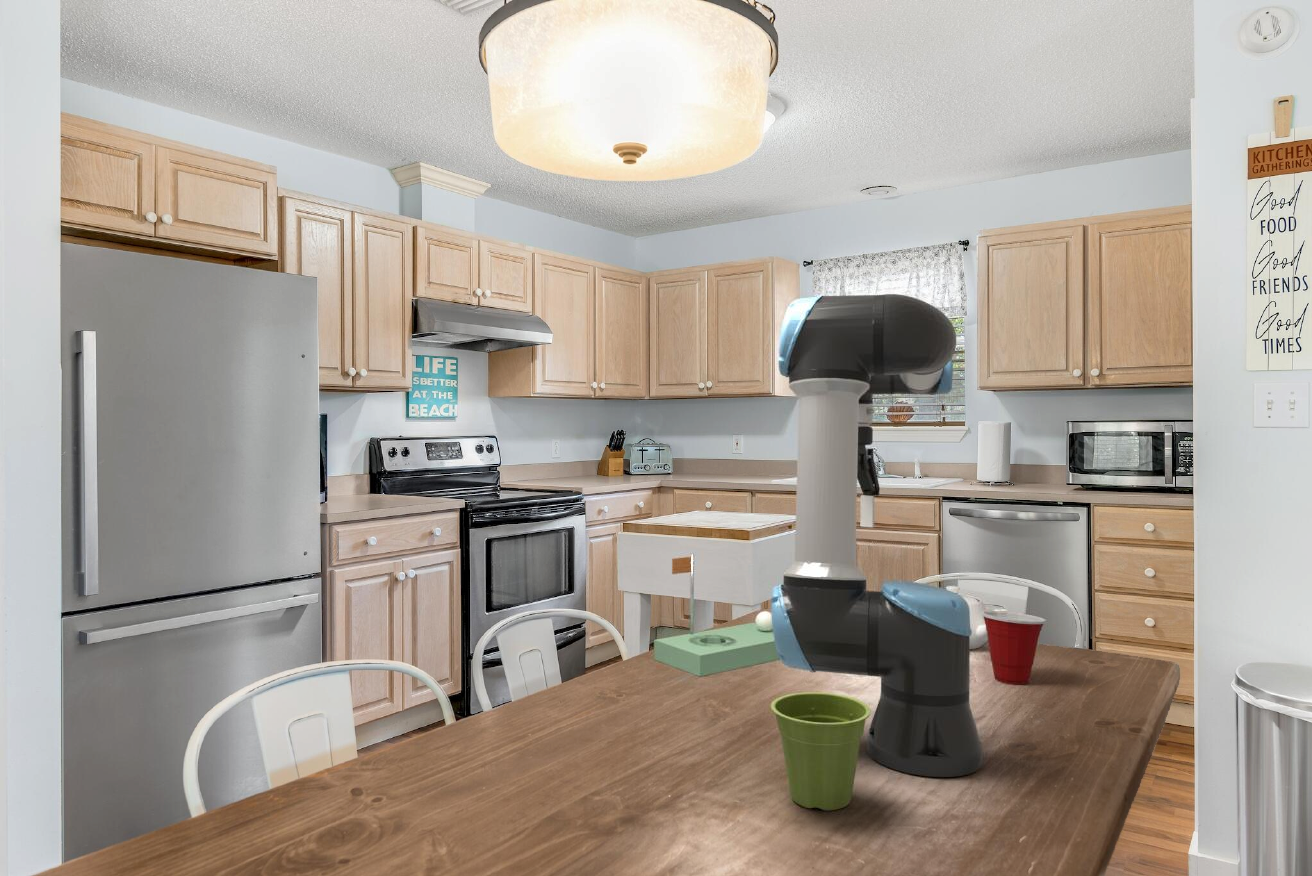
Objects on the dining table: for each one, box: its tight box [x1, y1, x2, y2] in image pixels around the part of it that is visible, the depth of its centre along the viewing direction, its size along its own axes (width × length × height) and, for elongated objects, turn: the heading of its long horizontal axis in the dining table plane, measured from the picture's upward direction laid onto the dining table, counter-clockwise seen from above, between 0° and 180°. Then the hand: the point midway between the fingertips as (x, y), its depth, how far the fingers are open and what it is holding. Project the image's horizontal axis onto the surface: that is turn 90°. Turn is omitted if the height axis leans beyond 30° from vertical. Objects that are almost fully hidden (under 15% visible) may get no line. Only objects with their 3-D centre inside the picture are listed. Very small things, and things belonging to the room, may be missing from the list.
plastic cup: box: [982, 610, 1047, 686], centre depth 154 cm, size 11×11×12 cm
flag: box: [671, 553, 695, 635], centre depth 169 cm, size 5×1×16 cm, turn 127°
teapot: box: [945, 585, 1009, 650], centre depth 179 cm, size 25×16×12 cm, turn 30°
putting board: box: [653, 622, 780, 677], centre depth 169 cm, size 32×14×4 cm, turn 127°
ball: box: [755, 610, 773, 631], centre depth 174 cm, size 4×4×4 cm
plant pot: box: [770, 691, 871, 812], centre depth 103 cm, size 12×12×11 cm
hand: (852, 530), depth 173 cm, fingers open, 13 cm apart
